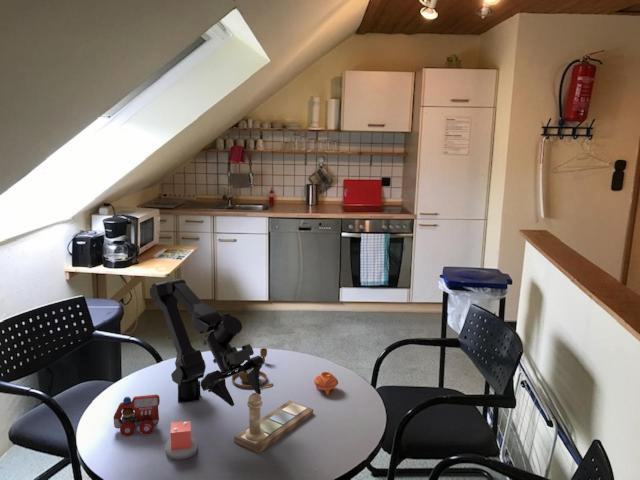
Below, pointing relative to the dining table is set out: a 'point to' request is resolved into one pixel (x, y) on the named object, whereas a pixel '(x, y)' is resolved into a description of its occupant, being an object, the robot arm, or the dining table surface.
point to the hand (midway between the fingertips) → (246, 399)
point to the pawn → (254, 418)
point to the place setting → (243, 375)
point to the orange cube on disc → (181, 441)
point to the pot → (326, 382)
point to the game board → (276, 425)
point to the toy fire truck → (137, 414)
